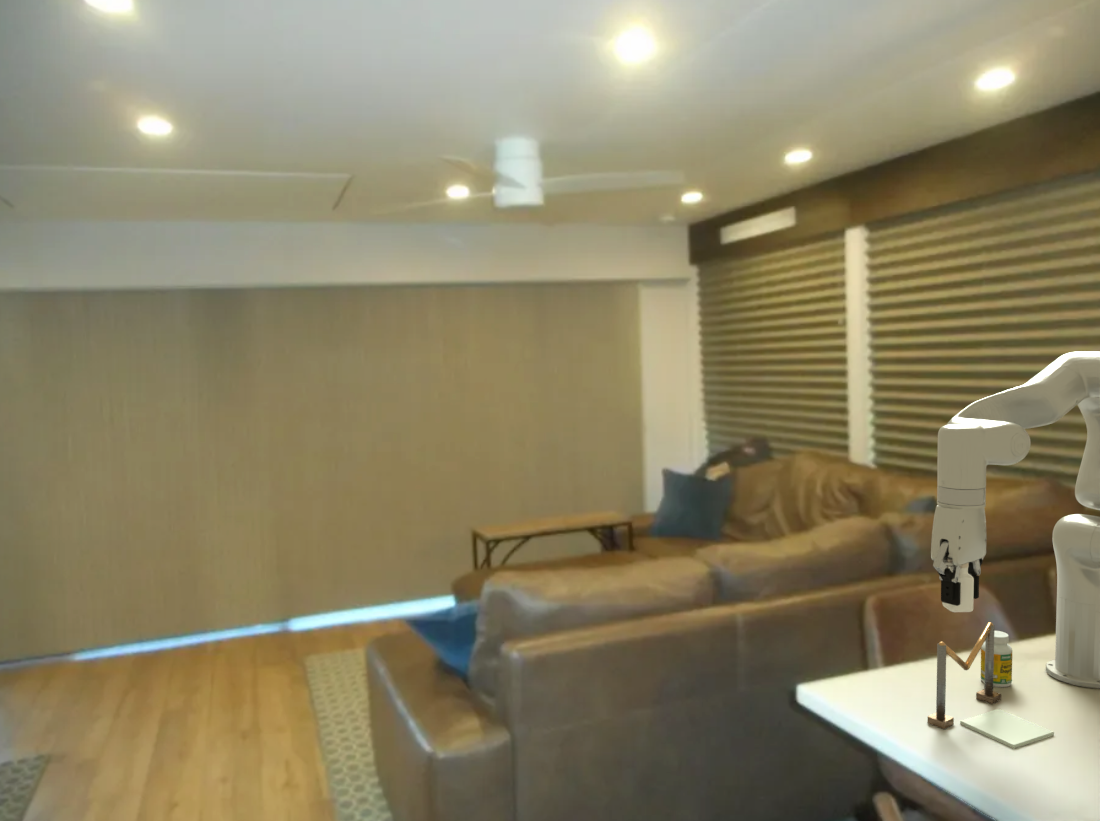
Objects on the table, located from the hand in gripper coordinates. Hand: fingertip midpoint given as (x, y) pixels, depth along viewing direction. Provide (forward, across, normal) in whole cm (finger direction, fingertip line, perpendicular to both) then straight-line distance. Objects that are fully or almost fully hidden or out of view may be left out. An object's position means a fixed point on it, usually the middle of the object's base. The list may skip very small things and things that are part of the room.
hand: (959, 599), depth 147 cm
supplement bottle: (+22, -20, -4) cm, 29 cm away
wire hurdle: (+21, -3, 0) cm, 21 cm away
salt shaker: (+2, 0, 0) cm, 2 cm away
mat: (+21, -2, +7) cm, 22 cm away
